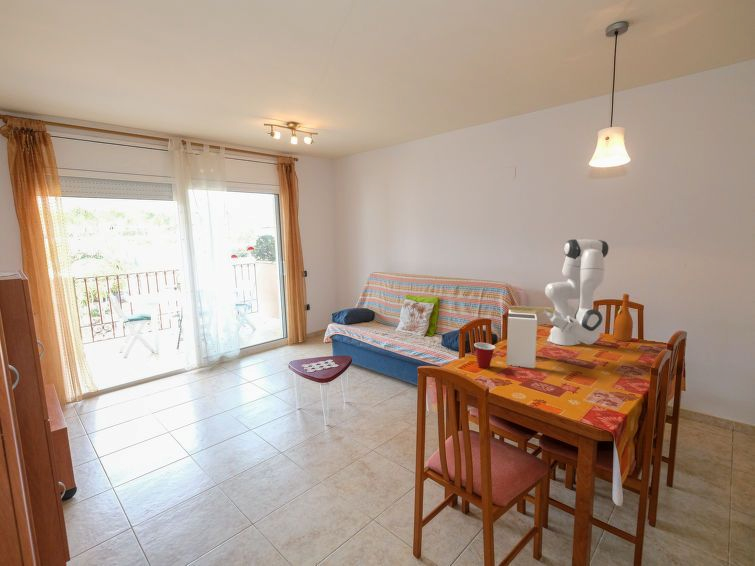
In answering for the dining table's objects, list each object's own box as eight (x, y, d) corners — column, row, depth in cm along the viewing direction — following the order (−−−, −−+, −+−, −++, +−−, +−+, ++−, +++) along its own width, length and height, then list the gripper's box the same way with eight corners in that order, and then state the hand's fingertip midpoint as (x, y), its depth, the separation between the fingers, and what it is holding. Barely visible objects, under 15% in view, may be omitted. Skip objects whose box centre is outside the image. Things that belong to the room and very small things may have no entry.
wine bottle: (617, 336, 238) (621, 292, 234) (634, 340, 230) (638, 294, 225) (610, 339, 233) (613, 293, 228) (627, 342, 224) (631, 296, 220)
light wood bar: (510, 310, 203) (510, 305, 203) (553, 313, 195) (553, 307, 195) (510, 311, 201) (510, 306, 200) (553, 314, 193) (554, 309, 192)
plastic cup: (498, 370, 185) (498, 347, 183) (477, 371, 184) (478, 348, 182) (490, 362, 195) (491, 341, 194) (470, 363, 195) (471, 342, 193)
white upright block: (507, 352, 211) (508, 309, 207) (533, 355, 206) (535, 310, 202) (506, 365, 191) (508, 317, 187) (534, 368, 186) (537, 319, 182)
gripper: (568, 314, 201) (545, 301, 204) (573, 323, 182) (548, 309, 185) (561, 323, 203) (538, 310, 206) (565, 333, 184) (540, 318, 187)
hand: (543, 309), depth 196 cm, fingers closed on light wood bar, 3 cm apart
